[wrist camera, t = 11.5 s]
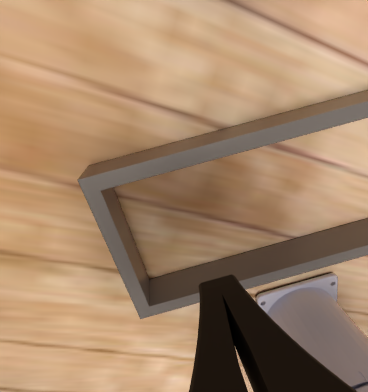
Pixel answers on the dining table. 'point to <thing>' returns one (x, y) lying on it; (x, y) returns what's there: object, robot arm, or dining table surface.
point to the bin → (236, 265)
